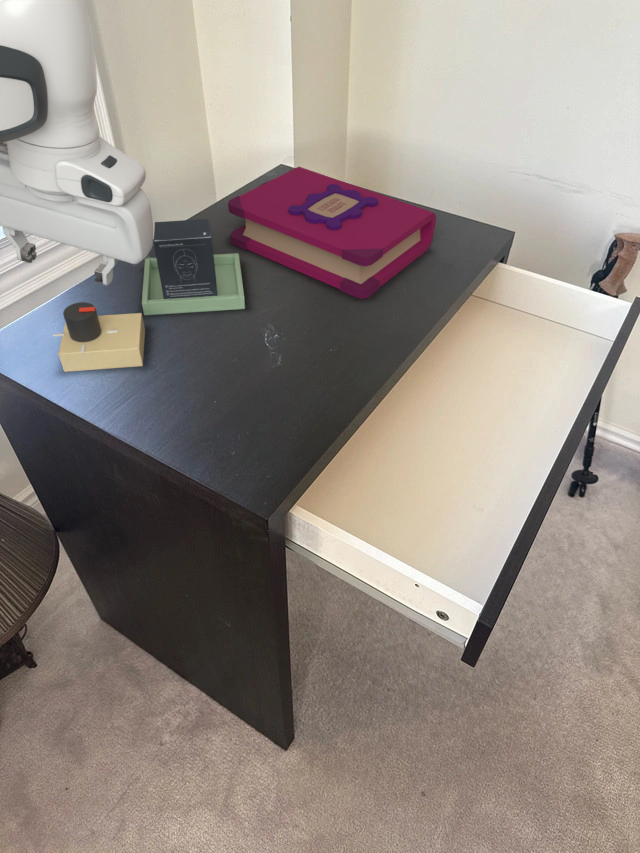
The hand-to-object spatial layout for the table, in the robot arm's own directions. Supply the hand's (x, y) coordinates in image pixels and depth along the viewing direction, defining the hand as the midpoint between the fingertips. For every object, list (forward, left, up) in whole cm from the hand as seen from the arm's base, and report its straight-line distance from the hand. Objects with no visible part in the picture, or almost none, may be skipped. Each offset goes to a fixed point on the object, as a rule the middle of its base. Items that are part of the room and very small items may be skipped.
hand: (65, 270), depth 75 cm
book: (+37, +26, -13) cm, 47 cm away
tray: (+14, +15, -13) cm, 24 cm away
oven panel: (+2, +1, -13) cm, 13 cm away
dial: (0, +1, -10) cm, 10 cm away
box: (+13, +13, -13) cm, 23 cm away
